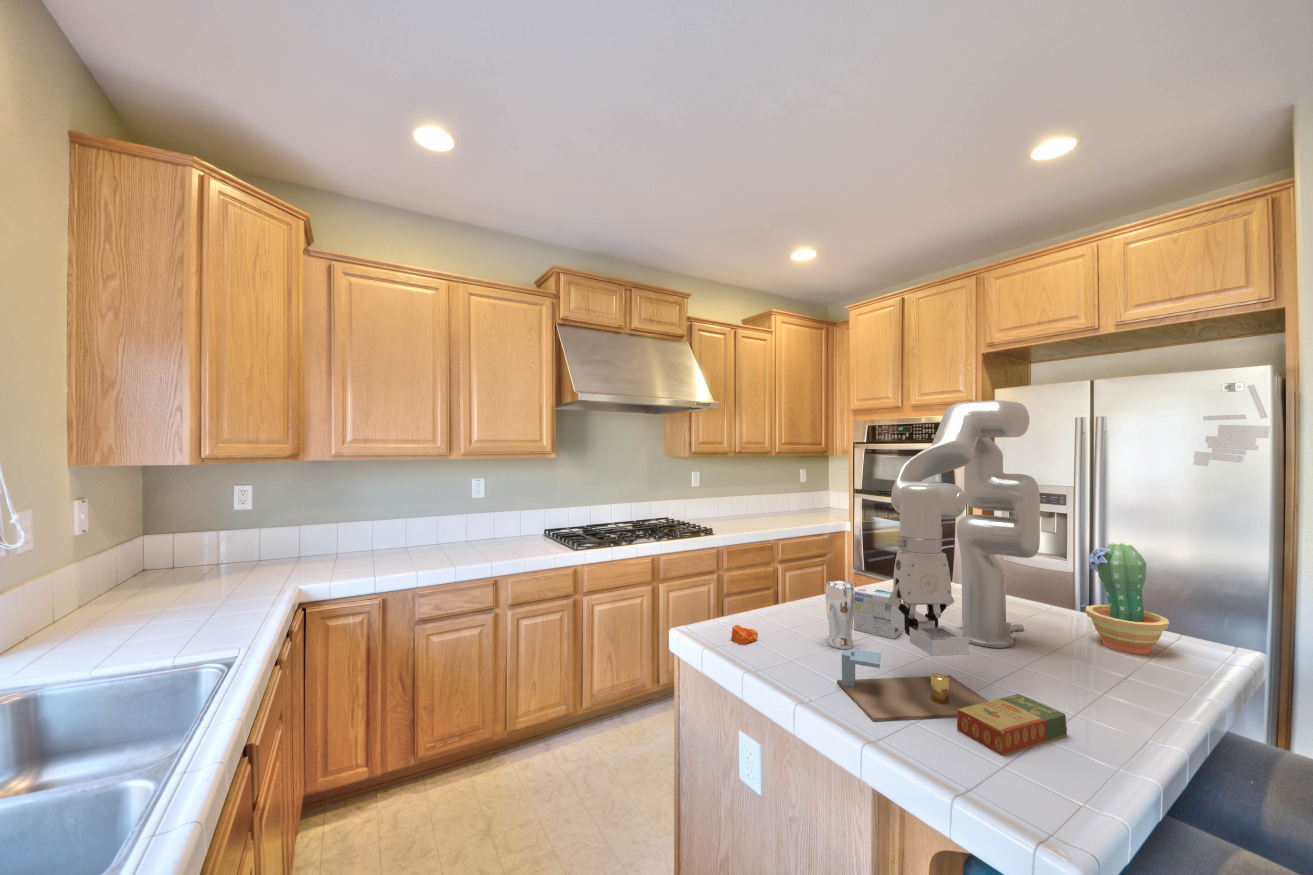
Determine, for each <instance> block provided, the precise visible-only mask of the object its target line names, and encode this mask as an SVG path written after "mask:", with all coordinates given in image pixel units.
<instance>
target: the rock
mask: <svg viewBox="0 0 1313 875" xmlns="http://www.w3.org/2000/svg"><path fill="white" fill-rule="evenodd" d="M758 638H759V633H758V631H757V629H756V630H755V629H753V628H747V627H742V626H740V625H739V624H734V625H733V626H732V627H731V640H732V641H733V642H734V643H735V644H737V645H743V646H745V645H749V643H754V642H756V641H757V640H758Z"/></svg>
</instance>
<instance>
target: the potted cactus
mask: <svg viewBox="0 0 1313 875" xmlns="http://www.w3.org/2000/svg"><path fill="white" fill-rule="evenodd" d="M1087 560H1088V565H1089V567H1090V570H1094V571H1095V572H1096V573H1097V574H1098V575H1097V576H1098V578H1099V579H1100V581H1101V583H1102V586H1104V591H1105V594H1106V600H1107V602H1108V604H1093V605H1092V604H1091V605H1086V607H1085V612H1086V616H1087V617H1089V618H1090V619H1091V621H1092V624H1093V626H1094V629H1095V630H1096V632H1097V633H1098V634H1099V635H1100V637H1101V638H1102V644H1103V645H1105V647H1108V648H1111V649H1113V650H1117V651H1119V652H1124V653H1130V654H1133V655H1134V654H1135V655H1136V654H1138V655H1147V654H1149V655H1150V654H1152V648H1151V647H1153V646H1154V645H1156V643H1158V641H1159V640H1160V638H1161V636H1162V634H1163V632H1164V630H1165V631H1166V630H1168V629H1169V625H1170V622H1169V618H1166V617H1164V616H1162V615H1160V614H1157V613H1154V612H1151V611H1146V610H1145V609H1144V597H1143V588H1144V585H1145V582H1146V579H1147V578H1146V576H1147V562H1146V560H1145V558H1143V556H1142V555H1141V553H1140V552H1138V550H1137V549H1136V548H1135V547H1134V546H1133V545H1132V544H1128V545H1127V544H1125V543H1119V544H1116V543H1114V542H1111V543H1109V544H1107V546H1106V547H1098V548H1095V549H1094V550H1093V551H1092V552H1091V553H1090V554H1089V556H1088V559H1087Z"/></svg>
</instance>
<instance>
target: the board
mask: <svg viewBox="0 0 1313 875" xmlns="http://www.w3.org/2000/svg"><path fill="white" fill-rule="evenodd" d="M946 676H947V677H948V678H949V703H948V704H939V703H936V702H934V701H932V699H931V675H929V676H928V675H926V676H924V675H923V676H905V677H904V676H903V677H883V678H882V677H880V678H879V677H878V678H861V679H859V678H858V679H856V678H855V687H849V686H844V685H842V679H838V680H837V679H836V684H837V686H839V687H840V688H841V689H842V690H843V691H844V692H845V694H847V695H848V696H849V697H850V699H851V700H852V701H853V702H854V703H855V704H856V705H857V706H858V707H859V708H860V709H861V710H862V711H863V712H864V713H865V715H867V717H869V718H870V720H871V721H873V722H874V723H875V722H889V721H908V720H909V721H910V720H925V719H926V720H929V719H946V718H957V710H958V709H961V708H964V707H968V706H972V705H976V704H980V703H984V702H988V701H989V700H988V699H986V698H985V697H983V696H981V695H980V694H979V693H977V692H976V691H974V690H973V689H971V688H970V687H969V686H967V685H966V684H964V683H962V682H961V681H959V680H958V679H957V678H955V677H953V676H952V675H950V674H947V675H946Z"/></svg>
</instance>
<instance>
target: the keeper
mask: <svg viewBox="0 0 1313 875" xmlns="http://www.w3.org/2000/svg"><path fill="white" fill-rule="evenodd" d="M841 652H842V653H841V680H842V685H844V686H849V687H855V680H856V666H857V665H858V666H863V667H869V668H876V669H880V668H881V659H882V658H881V654H882V653H881V652H876V651H871V650H863V649H857V648H851V650H850V651H848V650H842V651H841Z"/></svg>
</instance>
